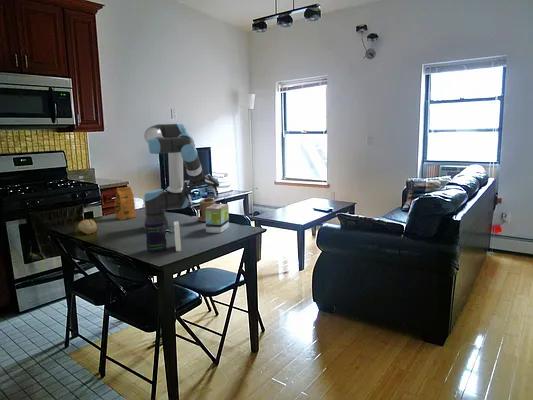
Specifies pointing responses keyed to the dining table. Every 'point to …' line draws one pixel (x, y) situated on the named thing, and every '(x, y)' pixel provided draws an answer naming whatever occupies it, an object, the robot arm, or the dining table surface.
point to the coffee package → (124, 203)
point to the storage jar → (155, 236)
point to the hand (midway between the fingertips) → (203, 198)
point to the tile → (177, 236)
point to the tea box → (217, 218)
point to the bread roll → (87, 226)
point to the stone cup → (204, 204)
